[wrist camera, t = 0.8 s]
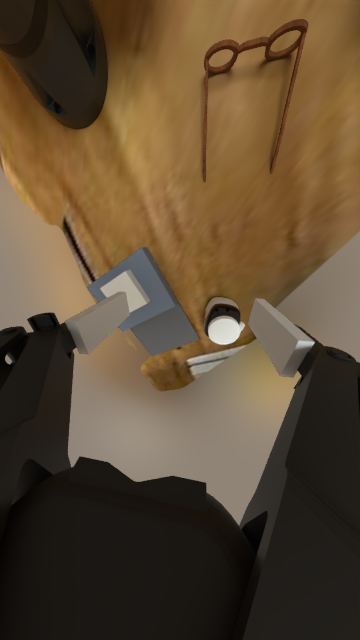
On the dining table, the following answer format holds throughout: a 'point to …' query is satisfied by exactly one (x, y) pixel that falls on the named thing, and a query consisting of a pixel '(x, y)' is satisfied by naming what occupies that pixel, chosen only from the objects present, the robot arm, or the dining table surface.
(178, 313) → the mat
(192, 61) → the dining table surface
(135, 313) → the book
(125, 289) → the coaster
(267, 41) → the glasses
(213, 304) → the spread jar
